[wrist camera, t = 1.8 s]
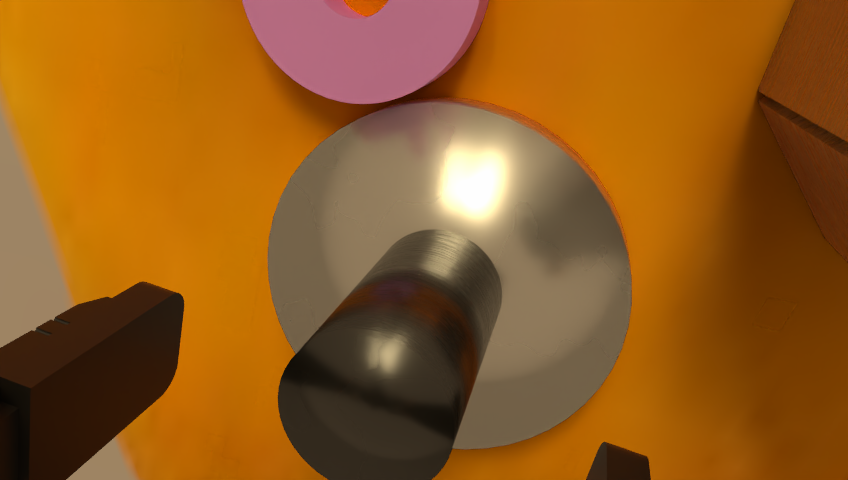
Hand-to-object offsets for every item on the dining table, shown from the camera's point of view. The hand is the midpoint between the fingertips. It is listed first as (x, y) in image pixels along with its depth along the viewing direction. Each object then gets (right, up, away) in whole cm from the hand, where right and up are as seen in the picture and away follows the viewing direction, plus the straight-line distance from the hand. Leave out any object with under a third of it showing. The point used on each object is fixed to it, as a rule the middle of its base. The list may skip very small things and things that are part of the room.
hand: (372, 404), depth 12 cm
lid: (+2, +2, +6) cm, 6 cm away
